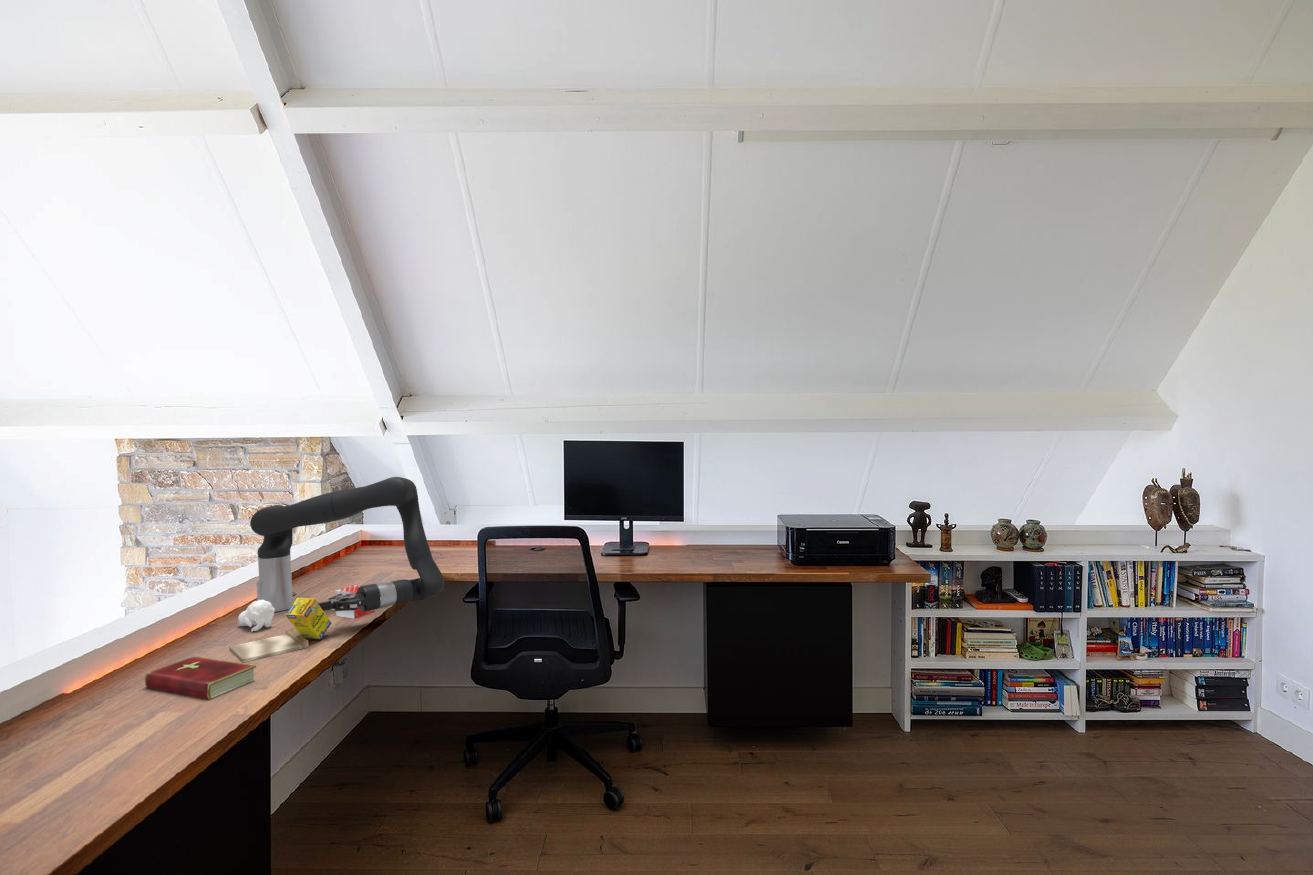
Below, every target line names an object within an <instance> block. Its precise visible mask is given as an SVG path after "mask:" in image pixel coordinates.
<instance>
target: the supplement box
mask: <svg viewBox="0 0 1313 875" xmlns="http://www.w3.org/2000/svg"><path fill="white" fill-rule="evenodd" d="M318 603H319V602H318V601H317V600H316V598H309V597H296V599H295V600H294V602H293V605H292V606H291V607H290V608H289V609H287V612H286V613H285V614H284V615H285V616H286V618H287V619H288V621H289V622H290V623H291V625H292V626H293V627H294V629H295V631H296V632H297V633H298V634H300V635H301V636H302V637H304V638H305V639H307V640H315V641H321V640H322V639H323V637H324V636H325V634H326V632H327V630H328V629H329V628H330V626H331V625H332V622H331V621H330V618H329V617H328V616H327V614H326V613H325V611H323V610H322V609H321V607H320V606H319V604H318Z"/></svg>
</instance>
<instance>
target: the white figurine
mask: <svg viewBox="0 0 1313 875" xmlns="http://www.w3.org/2000/svg"><path fill="white" fill-rule="evenodd" d="M274 611H275V609H274V607H273V606H272V604H271V603H270V602H268V601H265V600H258V601H257V600H255V601H253V602H251V603H250V604H249V605H248V606H247V608H246V610H244V611H243V610H242V612H241V613H239V615H238V621H239V622H238V624H239V625H240V626H241V627H249V628H251V627H252V626H253V624H254V623H256V625H255V626H253V627H252V628H251V630H250V632H252V633H254V632H253V631H255V632H257V631H260V630H261V628H262V627H263V626H264V627H265V628H271V626H272V625H271V624H272V622H273V620H272V619H273V618H274V616H275V612H274Z"/></svg>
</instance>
